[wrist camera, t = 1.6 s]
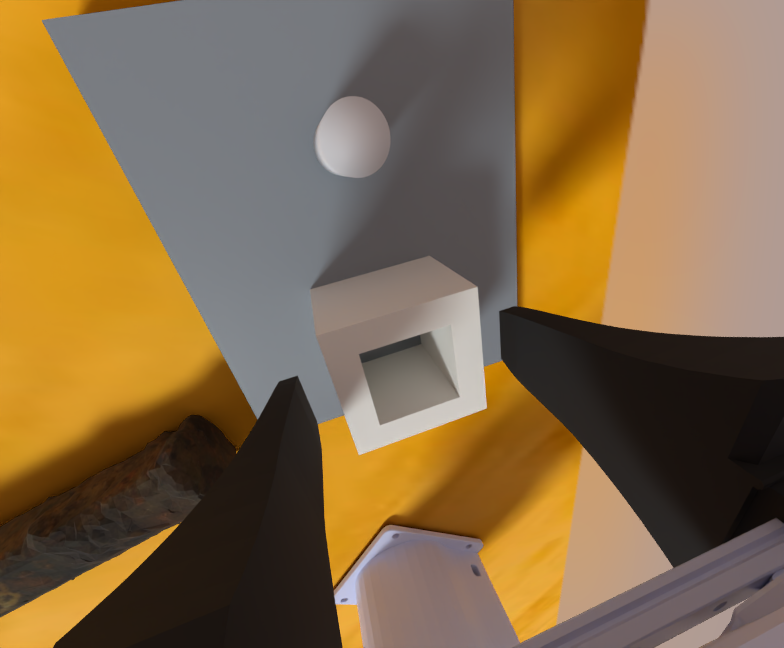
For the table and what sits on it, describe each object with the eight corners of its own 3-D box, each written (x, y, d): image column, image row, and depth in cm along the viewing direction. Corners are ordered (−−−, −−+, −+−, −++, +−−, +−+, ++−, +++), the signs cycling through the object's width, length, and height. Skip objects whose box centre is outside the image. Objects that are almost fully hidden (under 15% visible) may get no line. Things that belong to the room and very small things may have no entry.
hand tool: (200, 395, 15) (165, 479, 11) (249, 449, 17) (234, 537, 13) (-223, 592, 14) (-443, 771, 10) (-118, 626, 16) (-264, 786, 12)
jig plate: (505, 344, 18) (558, 388, 14) (270, 423, 16) (264, 497, 12) (491, -27, 11) (591, -125, 7) (70, 37, 9) (-82, -53, 5)
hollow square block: (443, 354, 16) (486, 408, 12) (343, 388, 15) (358, 455, 11) (429, 255, 13) (477, 287, 10) (309, 289, 13) (316, 336, 9)
